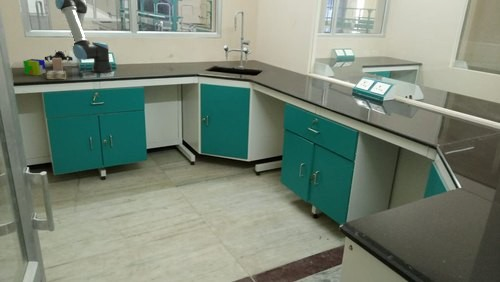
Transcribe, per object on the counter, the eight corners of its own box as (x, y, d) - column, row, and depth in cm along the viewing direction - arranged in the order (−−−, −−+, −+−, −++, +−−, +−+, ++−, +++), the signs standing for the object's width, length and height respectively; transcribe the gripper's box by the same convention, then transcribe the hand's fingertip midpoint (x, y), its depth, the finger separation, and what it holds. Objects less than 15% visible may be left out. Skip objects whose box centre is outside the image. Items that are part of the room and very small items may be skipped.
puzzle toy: (45, 72, 293) (44, 60, 289) (37, 75, 284) (36, 61, 280) (33, 71, 294) (31, 59, 290) (25, 74, 284) (23, 60, 281)
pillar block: (63, 73, 295) (61, 57, 291) (62, 74, 290) (60, 59, 286) (54, 73, 293) (52, 57, 289) (54, 74, 288) (52, 59, 284)
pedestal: (66, 76, 286) (65, 70, 284) (65, 79, 276) (64, 73, 274) (48, 76, 282) (48, 70, 280) (47, 79, 271) (46, 73, 270)
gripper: (76, 60, 322) (75, 65, 303) (43, 60, 312) (40, 65, 294) (75, 51, 319) (74, 55, 301) (42, 51, 310) (39, 55, 292)
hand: (57, 60), depth 297 cm, fingers open, 13 cm apart
